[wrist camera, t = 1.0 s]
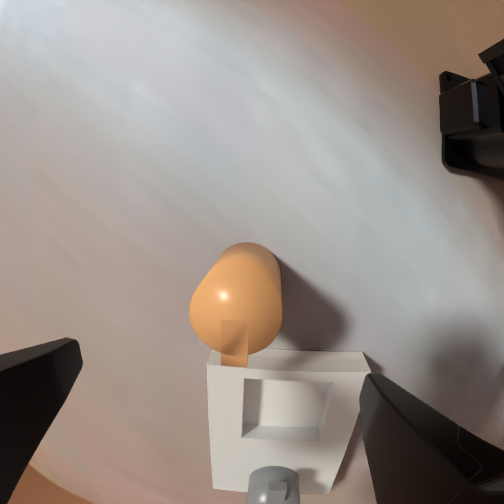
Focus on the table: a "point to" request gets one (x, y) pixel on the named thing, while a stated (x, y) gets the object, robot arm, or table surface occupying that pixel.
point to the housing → (282, 421)
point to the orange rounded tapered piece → (239, 303)
